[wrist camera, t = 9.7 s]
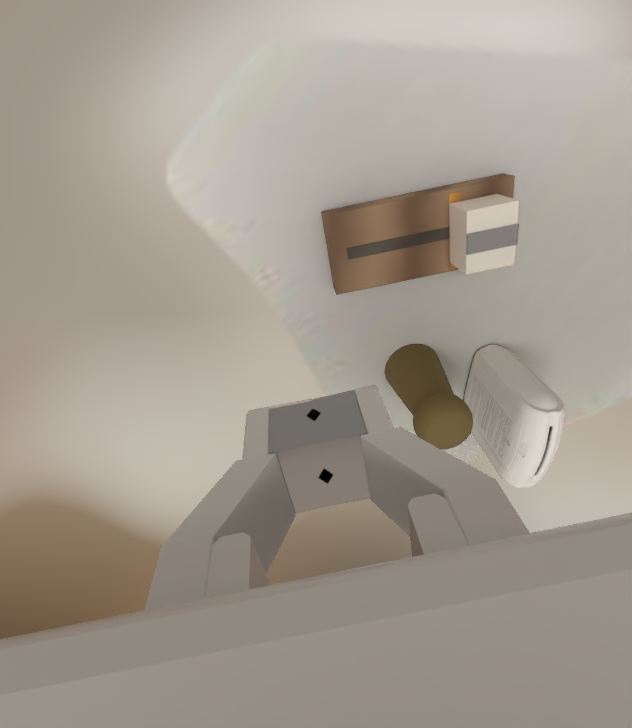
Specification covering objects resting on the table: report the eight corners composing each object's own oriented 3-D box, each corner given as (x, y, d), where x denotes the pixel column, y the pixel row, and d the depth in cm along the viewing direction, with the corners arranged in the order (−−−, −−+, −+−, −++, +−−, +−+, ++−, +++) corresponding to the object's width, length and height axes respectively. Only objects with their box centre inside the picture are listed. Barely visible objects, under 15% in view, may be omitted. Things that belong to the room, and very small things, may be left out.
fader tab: (497, 193, 33) (520, 200, 30) (493, 253, 36) (515, 265, 33) (449, 203, 33) (468, 211, 30) (449, 262, 36) (466, 275, 33)
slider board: (502, 173, 35) (515, 176, 33) (498, 253, 38) (509, 259, 37) (321, 211, 35) (323, 216, 33) (333, 287, 39) (336, 295, 37)
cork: (394, 340, 42) (429, 402, 33) (447, 347, 43) (495, 410, 34) (378, 387, 45) (406, 456, 36) (428, 393, 46) (468, 462, 37)
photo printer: (491, 417, 49) (551, 497, 38) (456, 419, 49) (508, 501, 38) (510, 342, 44) (587, 411, 33) (472, 344, 43) (537, 414, 33)
